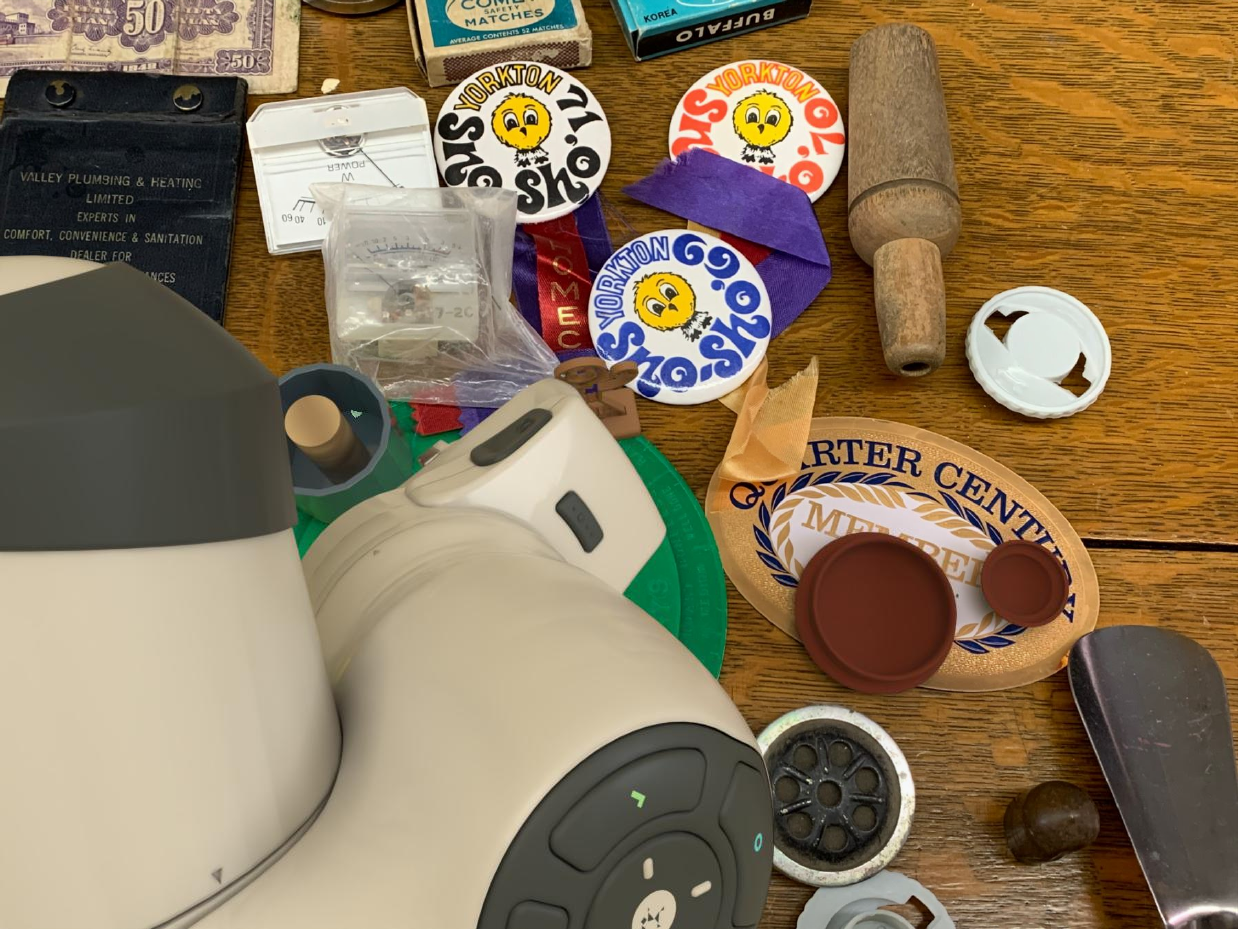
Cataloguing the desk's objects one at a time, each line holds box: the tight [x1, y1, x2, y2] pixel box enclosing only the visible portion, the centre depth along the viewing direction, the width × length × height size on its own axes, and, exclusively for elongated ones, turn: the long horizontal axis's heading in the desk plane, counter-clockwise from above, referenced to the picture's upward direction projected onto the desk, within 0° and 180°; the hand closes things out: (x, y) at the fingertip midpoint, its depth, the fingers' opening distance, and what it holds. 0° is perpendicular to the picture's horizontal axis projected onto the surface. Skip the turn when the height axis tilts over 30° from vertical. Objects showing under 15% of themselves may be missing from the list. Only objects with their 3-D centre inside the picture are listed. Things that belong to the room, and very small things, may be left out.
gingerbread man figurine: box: [553, 356, 642, 441], centre depth 69 cm, size 9×4×12 cm, turn 101°
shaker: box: [285, 395, 372, 485], centre depth 67 cm, size 4×4×10 cm
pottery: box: [794, 531, 1070, 696], centre depth 69 cm, size 12×20×4 cm, turn 100°
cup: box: [278, 362, 414, 525], centre depth 68 cm, size 9×9×9 cm
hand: (355, 526), depth 43 cm, fingers open, 8 cm apart
